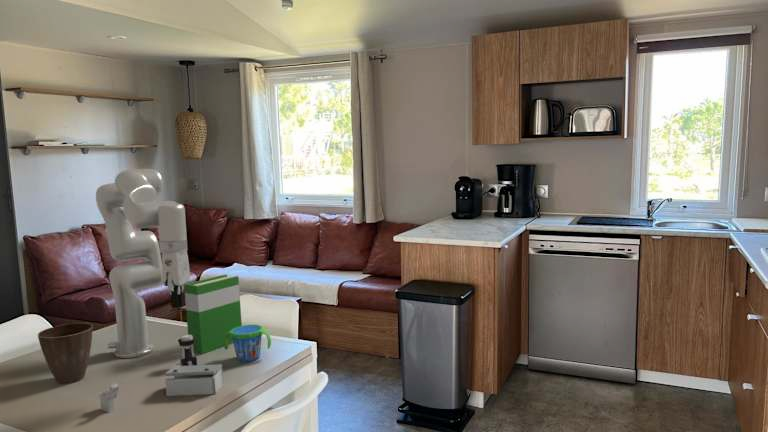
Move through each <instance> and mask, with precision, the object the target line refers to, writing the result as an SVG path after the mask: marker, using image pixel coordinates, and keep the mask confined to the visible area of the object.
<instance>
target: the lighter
mask: <svg viewBox="0 0 768 432" xmlns="http://www.w3.org/2000/svg"><path fill="white" fill-rule="evenodd" d="M119 389H120V388H119V385H118V384H117V383H113V384H110V385H109V389H106V390H103V391H102V393H99V403H100V410H102V411H104V412H107V413H112V412H115V410H116V408H115V407H116V406H115V399H116V398H117V396H118V392H119Z"/></svg>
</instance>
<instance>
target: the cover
mask: <svg viewBox="0 0 768 432" xmlns="http://www.w3.org/2000/svg"><path fill="white" fill-rule="evenodd" d="M220 368H222V369H223V364H197V365H194V366H181V365H174V366H173V367H172V368H170V369H169V370H167V371H166V372H164V376H165V377H174V376H180V375H205V374H215V373H216V372H217V371H218V370H219V369H220Z"/></svg>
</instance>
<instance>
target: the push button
mask: <svg viewBox="0 0 768 432" xmlns="http://www.w3.org/2000/svg"><path fill="white" fill-rule="evenodd" d="M177 342H178V344H179V346H180V347H181V358H180V360H179V361H180V362H179V363H176V364H175V366H194V365H198V358H197V356H195V354H194V353H195V352H193V344H194V343H195V337H192V335H188V334H183V335H181V336H180V338H179V339H177Z"/></svg>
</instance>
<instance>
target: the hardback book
mask: <svg viewBox="0 0 768 432" xmlns="http://www.w3.org/2000/svg"><path fill="white" fill-rule="evenodd" d="M183 290H184V300H185V301H184V303H185V311H186V312H185V314H186V325H187V335H192V337H195V343H194V344H193V352H194V353H195V354H199V355H206V354H208V353H211V352H214V351H217V350H218V349H222V348H224V338H225V336H226V334H227V333H228V332H230V331H231V330H232V329H233V328H236V327H239V326H243V324H242V307H241V296H240V278H239V275H237V276H232V277H231V276H228V274H222V275H217V276H214V277H209V278H206V279H205V278H204V279H201V280H198V281H197V280H196V281H193V282H189V283H184V284H183ZM227 344H228V346H231V345H234V344H233V339H232V337H231V335H230V334H229V335H228V337H227ZM216 349H217V350H216Z"/></svg>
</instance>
